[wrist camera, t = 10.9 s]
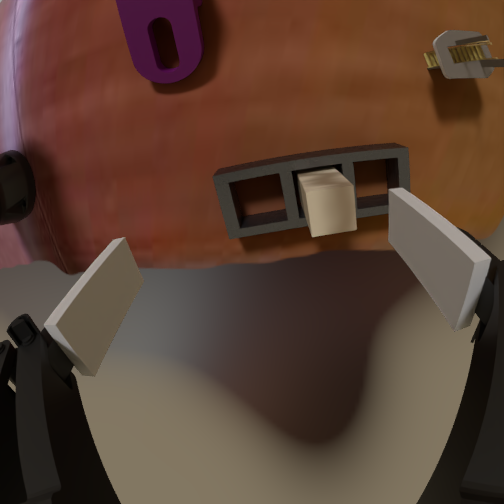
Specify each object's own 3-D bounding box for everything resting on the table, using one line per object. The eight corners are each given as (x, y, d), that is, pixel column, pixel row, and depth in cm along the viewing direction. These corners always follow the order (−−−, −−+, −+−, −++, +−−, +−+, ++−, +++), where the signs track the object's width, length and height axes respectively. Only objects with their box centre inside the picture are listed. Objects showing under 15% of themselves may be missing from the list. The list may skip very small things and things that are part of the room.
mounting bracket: (215, 61, 35) (197, -37, 20) (207, 76, 30) (184, -43, 16) (158, 72, 36) (135, -20, 21) (141, 90, 31) (111, -19, 16)
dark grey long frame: (233, 226, 42) (229, 239, 38) (218, 169, 38) (212, 176, 34) (397, 199, 38) (410, 210, 34) (394, 142, 34) (408, 147, 30)
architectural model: (347, 11, 25) (383, -26, 13) (460, 0, 19) (508, -15, 7) (406, 137, 34) (461, 155, 22) (502, 106, 27) (556, 118, 15)
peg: (300, 201, 40) (312, 237, 29) (294, 168, 37) (305, 192, 27) (333, 196, 39) (356, 229, 28) (329, 163, 37) (353, 185, 26)
